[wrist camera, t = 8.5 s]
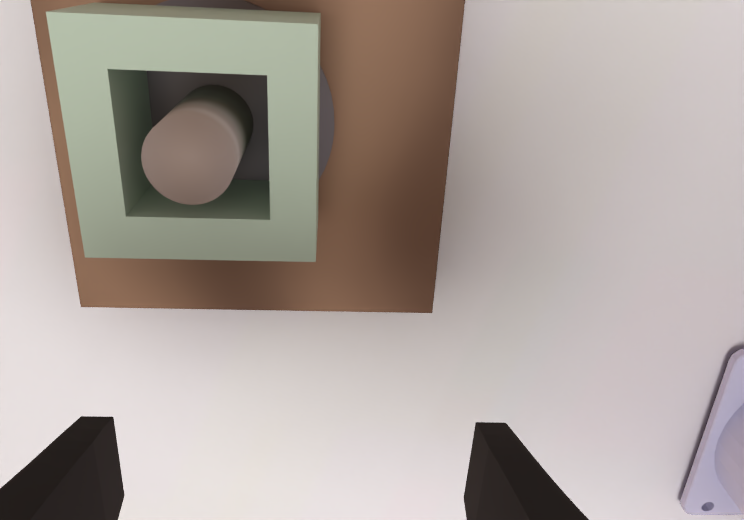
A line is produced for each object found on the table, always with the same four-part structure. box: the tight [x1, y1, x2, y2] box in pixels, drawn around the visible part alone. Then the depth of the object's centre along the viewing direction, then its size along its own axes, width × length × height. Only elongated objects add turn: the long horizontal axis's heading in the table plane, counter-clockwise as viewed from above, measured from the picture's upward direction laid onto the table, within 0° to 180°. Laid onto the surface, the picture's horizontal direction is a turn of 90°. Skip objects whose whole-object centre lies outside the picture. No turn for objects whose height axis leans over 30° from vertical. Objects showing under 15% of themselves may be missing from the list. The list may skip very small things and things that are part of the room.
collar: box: [46, 2, 321, 262], centre depth 16 cm, size 6×6×3 cm
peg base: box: [31, 0, 465, 313], centre depth 16 cm, size 11×12×6 cm
